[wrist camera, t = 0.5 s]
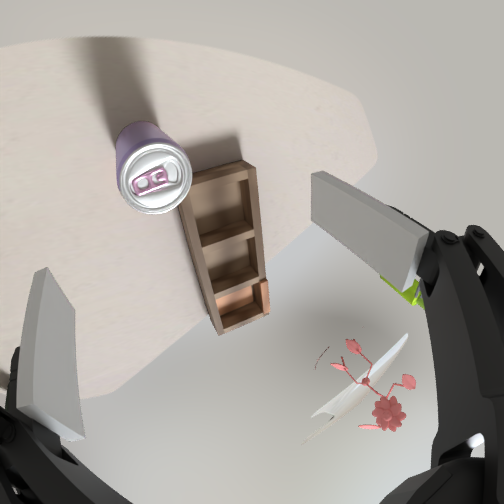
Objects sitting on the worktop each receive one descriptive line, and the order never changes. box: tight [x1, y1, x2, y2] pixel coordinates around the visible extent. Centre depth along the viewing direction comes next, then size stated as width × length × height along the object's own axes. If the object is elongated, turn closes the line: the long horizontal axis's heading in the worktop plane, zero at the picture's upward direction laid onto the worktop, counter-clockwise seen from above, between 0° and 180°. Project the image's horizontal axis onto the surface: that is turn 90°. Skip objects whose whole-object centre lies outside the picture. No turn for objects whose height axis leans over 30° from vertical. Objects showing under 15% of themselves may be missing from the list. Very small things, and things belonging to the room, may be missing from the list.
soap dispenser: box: [380, 275, 425, 310], centre depth 66 cm, size 6×7×20 cm
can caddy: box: [178, 160, 270, 335], centre depth 43 cm, size 10×28×4 cm, turn 6°
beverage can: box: [116, 121, 192, 214], centre depth 25 cm, size 6×6×15 cm
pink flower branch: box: [325, 339, 416, 432], centre depth 74 cm, size 15×26×35 cm, turn 161°
